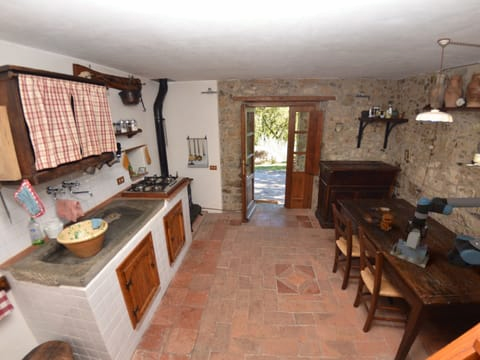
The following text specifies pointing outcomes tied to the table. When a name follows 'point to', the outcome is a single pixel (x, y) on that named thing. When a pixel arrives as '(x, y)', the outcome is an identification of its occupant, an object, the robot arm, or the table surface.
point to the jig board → (418, 262)
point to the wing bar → (413, 238)
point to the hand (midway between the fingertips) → (412, 242)
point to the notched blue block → (412, 250)
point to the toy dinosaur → (386, 222)
